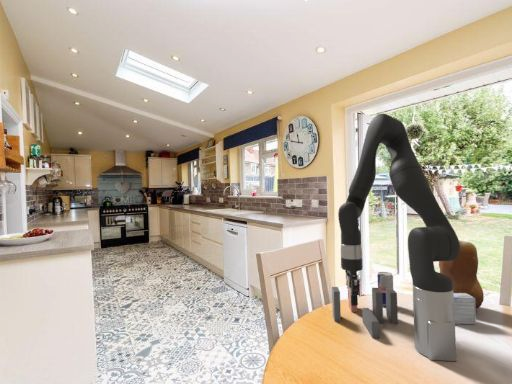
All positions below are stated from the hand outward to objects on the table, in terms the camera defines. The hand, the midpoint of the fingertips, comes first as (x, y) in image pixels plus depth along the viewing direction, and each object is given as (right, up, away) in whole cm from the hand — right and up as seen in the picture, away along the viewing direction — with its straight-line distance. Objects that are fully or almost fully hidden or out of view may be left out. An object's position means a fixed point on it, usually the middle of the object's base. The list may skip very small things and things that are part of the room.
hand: (352, 302), depth 103 cm
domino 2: (0, -3, 0) cm, 3 cm away
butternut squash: (+38, -2, -2) cm, 38 cm away
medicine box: (+31, -2, -12) cm, 33 cm away
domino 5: (+10, -2, -10) cm, 14 cm away
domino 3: (+1, 0, -11) cm, 11 cm away
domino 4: (+5, -2, -9) cm, 11 cm away
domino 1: (-8, -3, -7) cm, 11 cm away
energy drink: (+14, -3, +3) cm, 14 cm away
